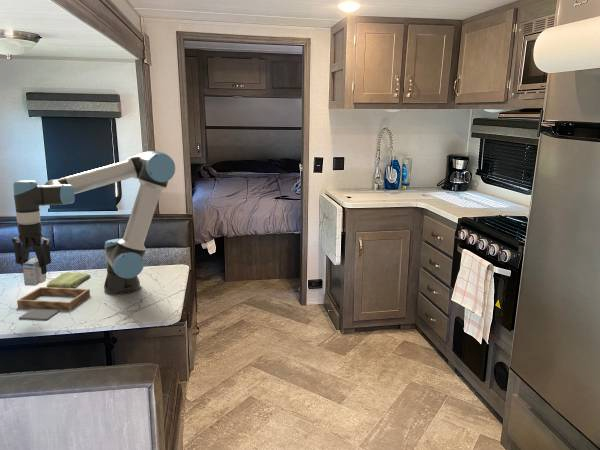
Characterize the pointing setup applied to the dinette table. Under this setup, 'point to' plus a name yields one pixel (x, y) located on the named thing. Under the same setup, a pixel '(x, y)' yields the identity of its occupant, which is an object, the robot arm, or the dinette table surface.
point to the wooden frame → (31, 303)
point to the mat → (40, 314)
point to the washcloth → (68, 280)
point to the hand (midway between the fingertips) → (35, 281)
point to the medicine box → (31, 272)
